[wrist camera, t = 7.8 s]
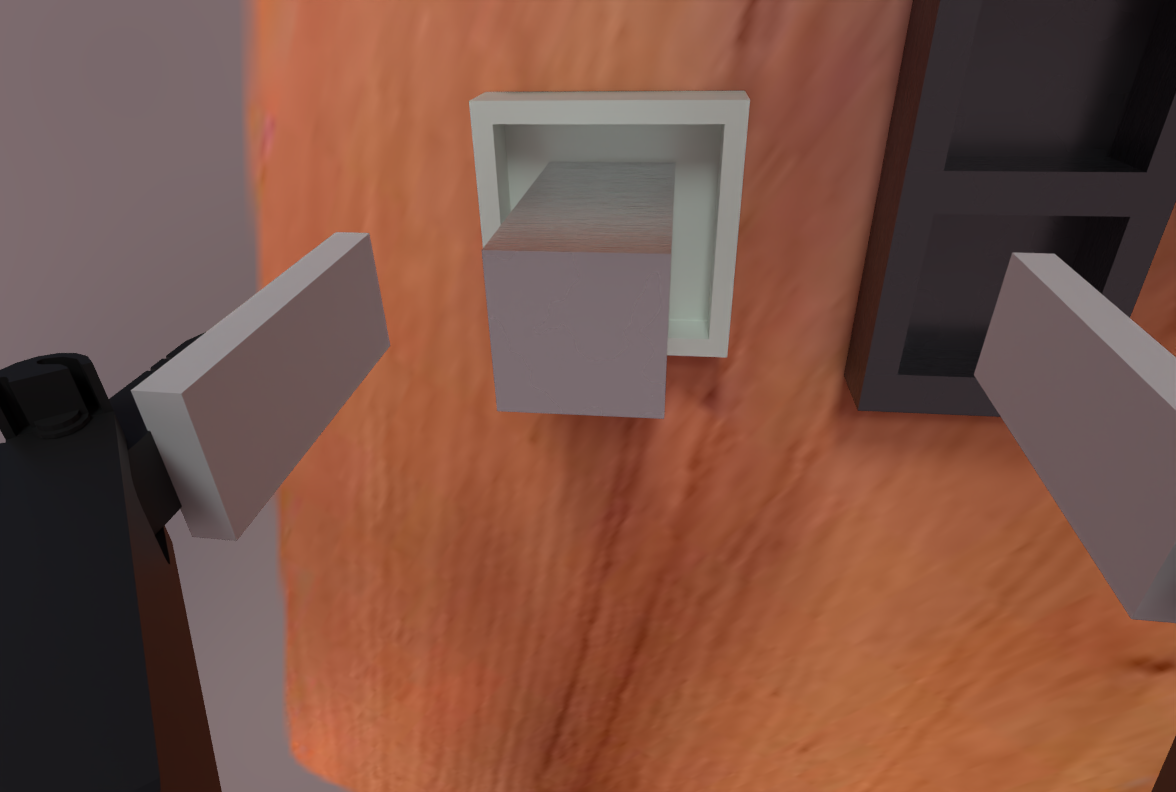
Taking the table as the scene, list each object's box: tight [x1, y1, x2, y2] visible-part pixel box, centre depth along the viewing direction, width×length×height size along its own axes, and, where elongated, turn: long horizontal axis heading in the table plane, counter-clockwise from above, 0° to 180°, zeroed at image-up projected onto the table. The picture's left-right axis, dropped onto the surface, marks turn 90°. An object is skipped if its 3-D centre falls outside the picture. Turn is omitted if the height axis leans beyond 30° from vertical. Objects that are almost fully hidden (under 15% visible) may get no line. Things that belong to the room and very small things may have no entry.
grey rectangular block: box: [482, 162, 676, 419], centre depth 25 cm, size 5×5×11 cm
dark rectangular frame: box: [844, 0, 1176, 417], centre depth 26 cm, size 18×9×3 cm, turn 1°
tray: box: [469, 91, 750, 357], centre depth 29 cm, size 10×10×2 cm
